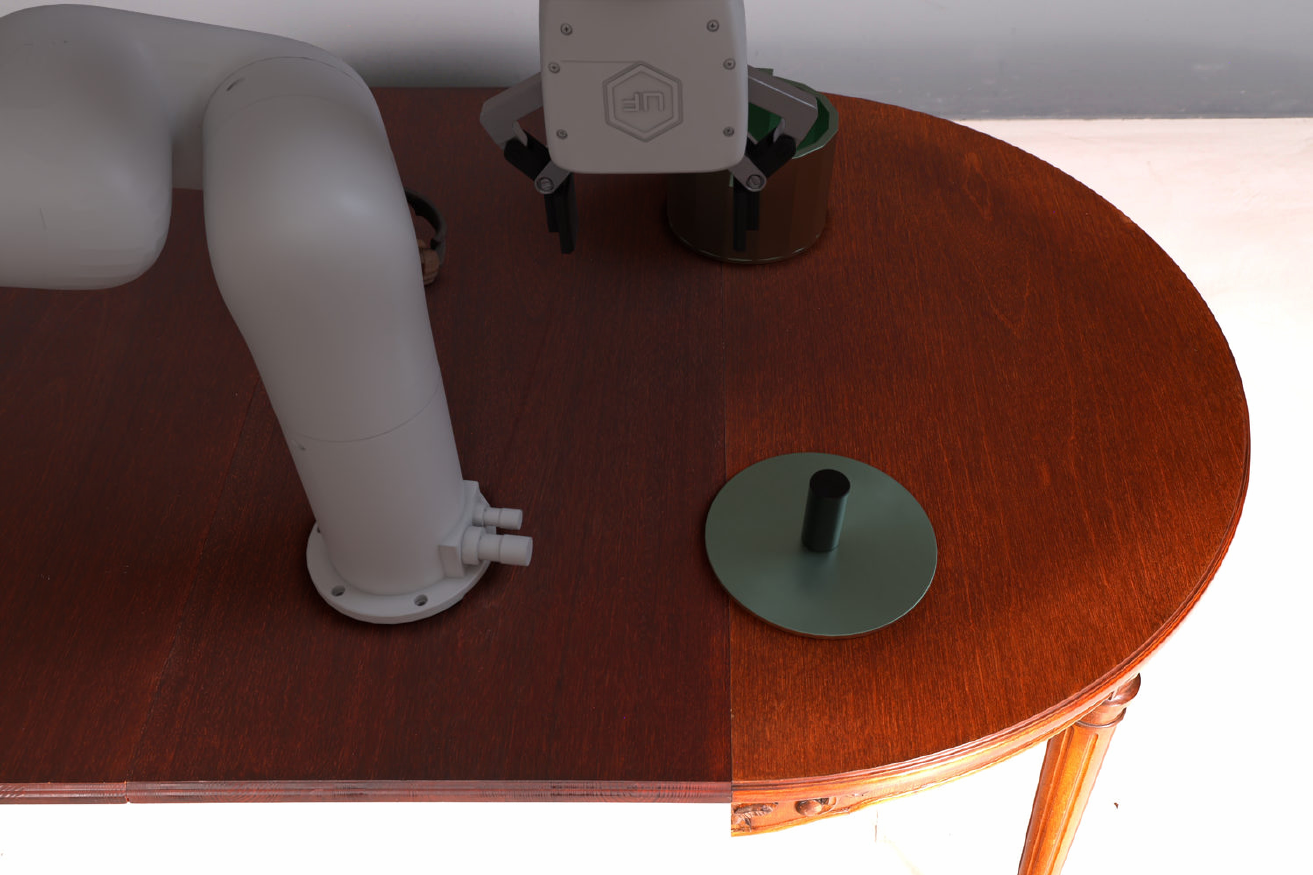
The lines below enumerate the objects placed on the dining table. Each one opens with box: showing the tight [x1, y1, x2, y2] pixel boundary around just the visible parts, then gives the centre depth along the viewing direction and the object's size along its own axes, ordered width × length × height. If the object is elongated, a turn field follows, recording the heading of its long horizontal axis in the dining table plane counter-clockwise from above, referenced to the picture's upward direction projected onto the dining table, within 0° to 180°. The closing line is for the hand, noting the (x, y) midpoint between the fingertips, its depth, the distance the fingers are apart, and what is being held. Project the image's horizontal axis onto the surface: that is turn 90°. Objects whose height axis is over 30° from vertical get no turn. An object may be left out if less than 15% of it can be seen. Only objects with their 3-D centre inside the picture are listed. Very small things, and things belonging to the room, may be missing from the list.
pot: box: [666, 67, 840, 266], centre depth 94 cm, size 15×20×10 cm
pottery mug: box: [403, 186, 448, 286], centre depth 90 cm, size 12×10×8 cm
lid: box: [704, 451, 938, 641], centre depth 69 cm, size 16×16×7 cm
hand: (654, 238), depth 60 cm, fingers open, 9 cm apart
